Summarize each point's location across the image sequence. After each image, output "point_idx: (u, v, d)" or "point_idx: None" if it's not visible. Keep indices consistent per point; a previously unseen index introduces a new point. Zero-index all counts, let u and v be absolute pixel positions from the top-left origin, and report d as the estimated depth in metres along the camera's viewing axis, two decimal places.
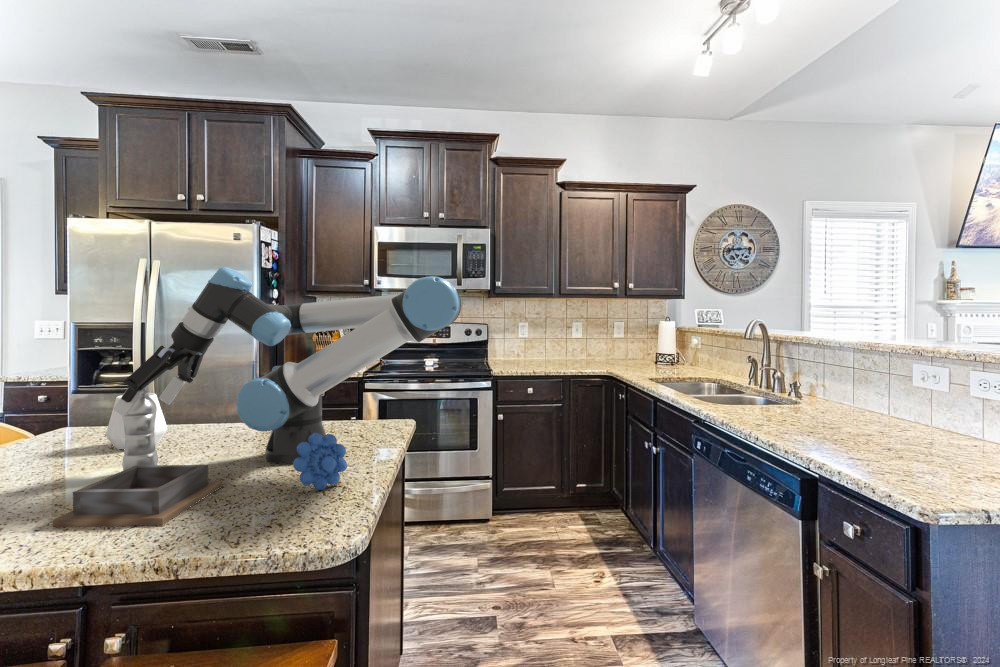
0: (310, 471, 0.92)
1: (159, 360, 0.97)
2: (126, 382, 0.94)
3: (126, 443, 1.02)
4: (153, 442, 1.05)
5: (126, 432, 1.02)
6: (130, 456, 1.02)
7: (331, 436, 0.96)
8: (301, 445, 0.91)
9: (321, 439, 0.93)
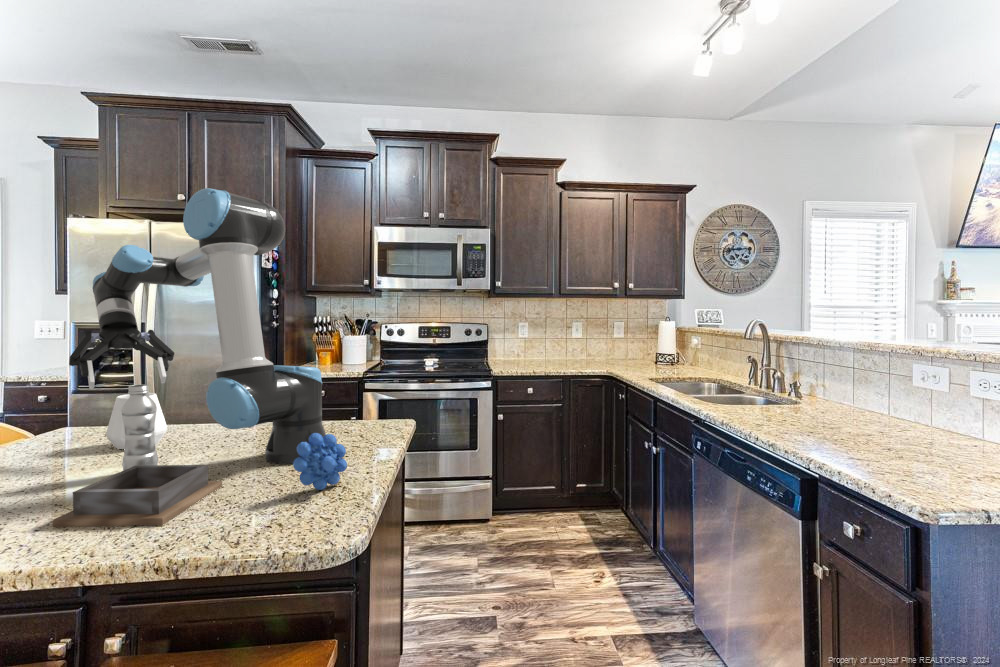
0: (310, 471, 0.92)
1: (83, 339, 1.12)
2: (69, 362, 1.08)
3: (126, 443, 1.02)
4: (153, 442, 1.05)
5: (126, 432, 1.02)
6: (130, 456, 1.02)
7: (331, 436, 0.96)
8: (301, 445, 0.91)
9: (321, 439, 0.93)
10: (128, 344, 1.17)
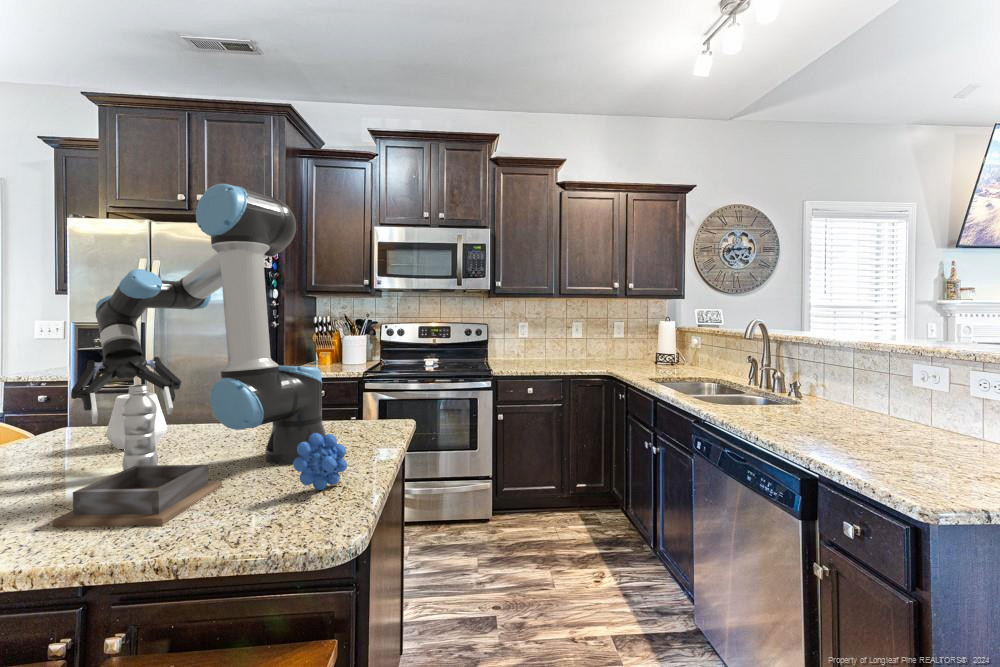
0: (310, 471, 0.92)
1: None
2: (71, 395, 1.02)
3: (126, 443, 1.02)
4: (153, 442, 1.05)
5: (126, 432, 1.02)
6: (130, 456, 1.02)
7: (331, 436, 0.96)
8: (301, 445, 0.91)
9: (321, 439, 0.93)
10: (133, 373, 1.12)
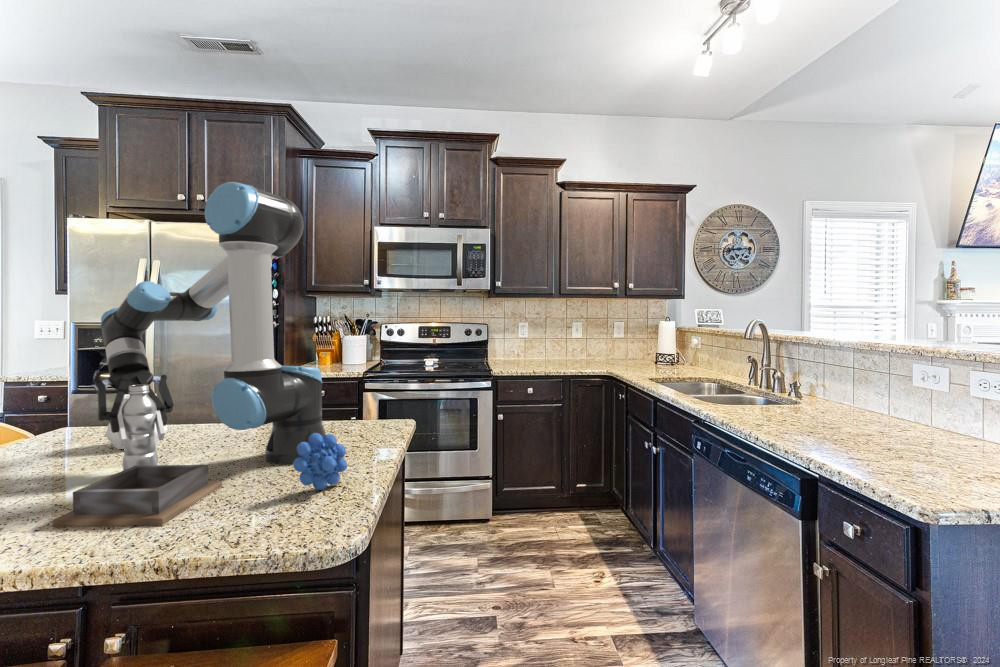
0: (310, 471, 0.92)
1: (98, 390, 1.04)
2: (98, 417, 1.01)
3: (126, 443, 1.02)
4: (153, 442, 1.05)
5: (126, 432, 1.02)
6: (130, 456, 1.02)
7: (331, 436, 0.96)
8: (301, 445, 0.91)
9: (321, 439, 0.93)
10: None
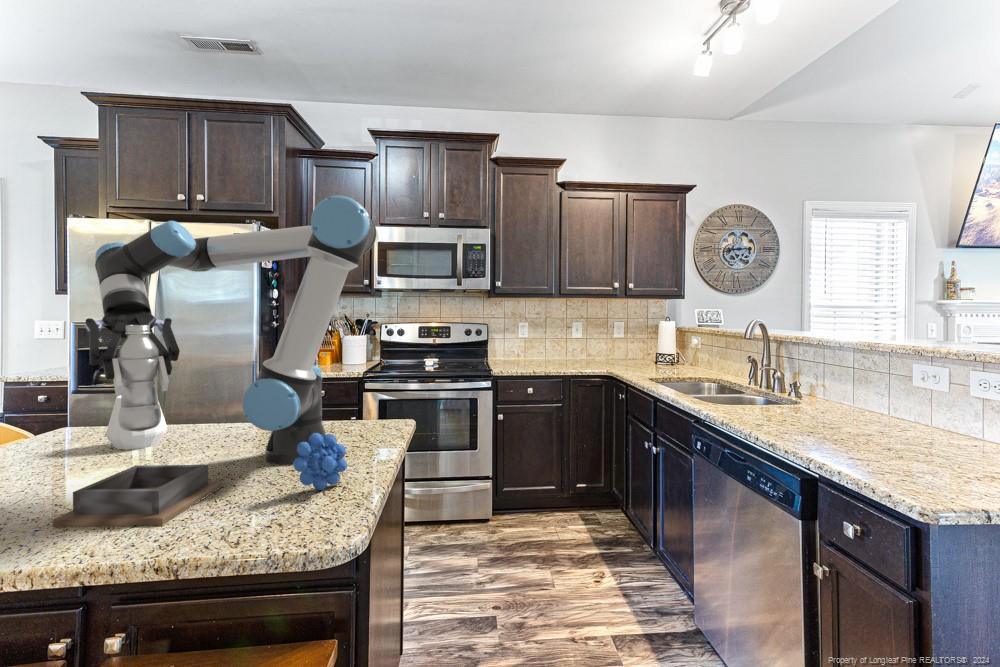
0: (310, 471, 0.92)
1: (89, 330, 0.87)
2: None
3: (123, 393, 0.85)
4: (155, 393, 0.88)
5: (123, 380, 0.85)
6: (127, 408, 0.85)
7: (331, 436, 0.96)
8: (301, 445, 0.91)
9: (321, 439, 0.93)
10: None
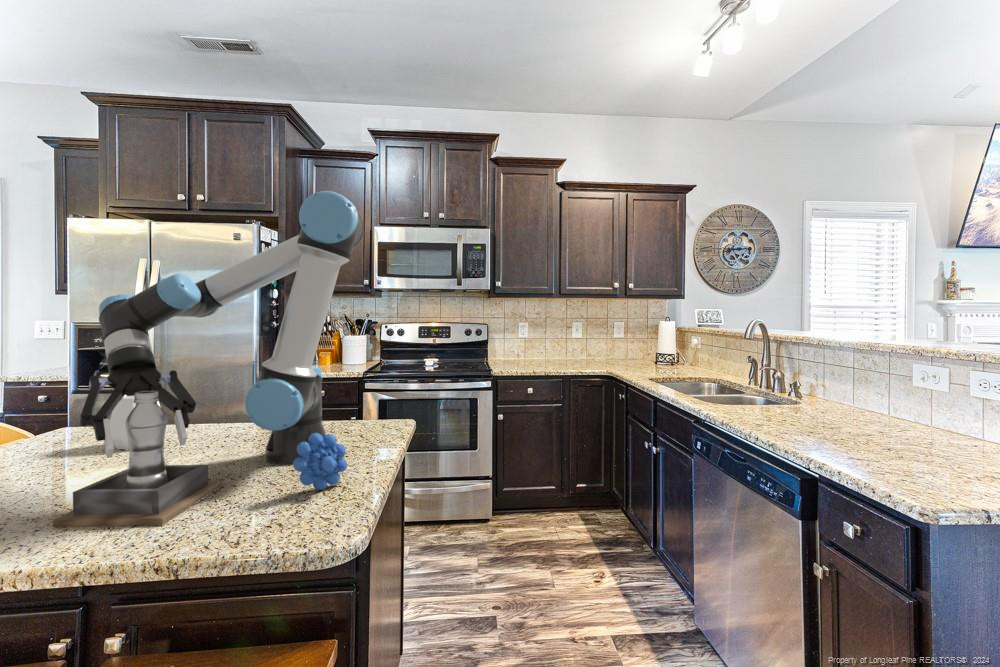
0: (310, 471, 0.92)
1: None
2: (80, 422, 0.82)
3: (130, 461, 0.85)
4: (162, 460, 0.88)
5: (131, 448, 0.85)
6: (135, 477, 0.85)
7: (331, 436, 0.96)
8: (301, 445, 0.91)
9: (321, 439, 0.93)
10: (145, 389, 0.91)
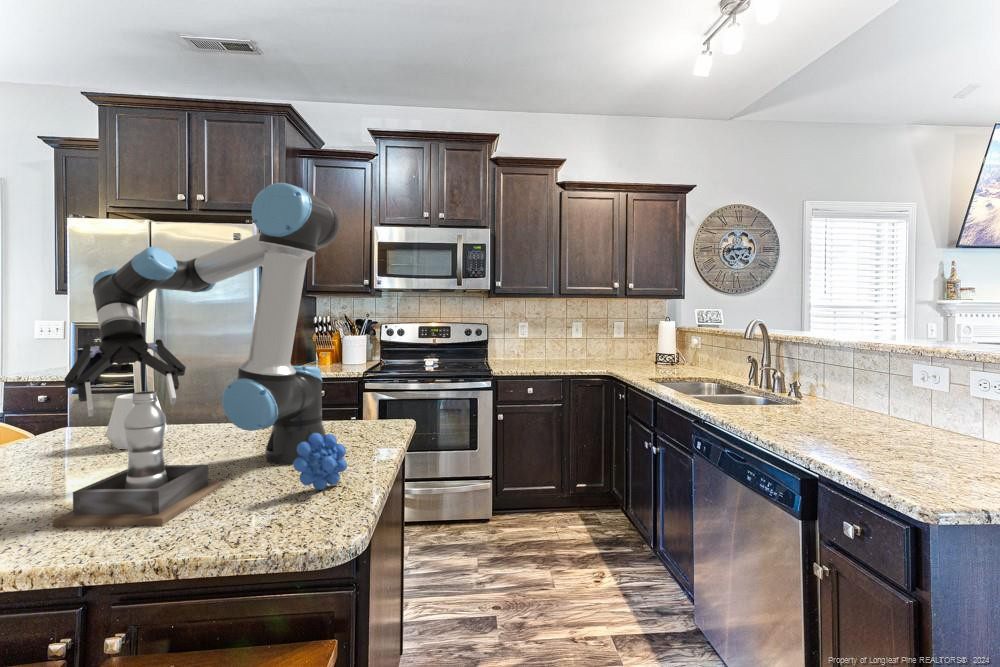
0: (310, 471, 0.92)
1: None
2: (65, 384, 0.93)
3: (130, 462, 0.85)
4: (162, 460, 0.88)
5: (130, 449, 0.85)
6: (134, 477, 0.84)
7: (331, 436, 0.96)
8: (301, 445, 0.91)
9: (321, 439, 0.93)
10: (133, 358, 1.02)
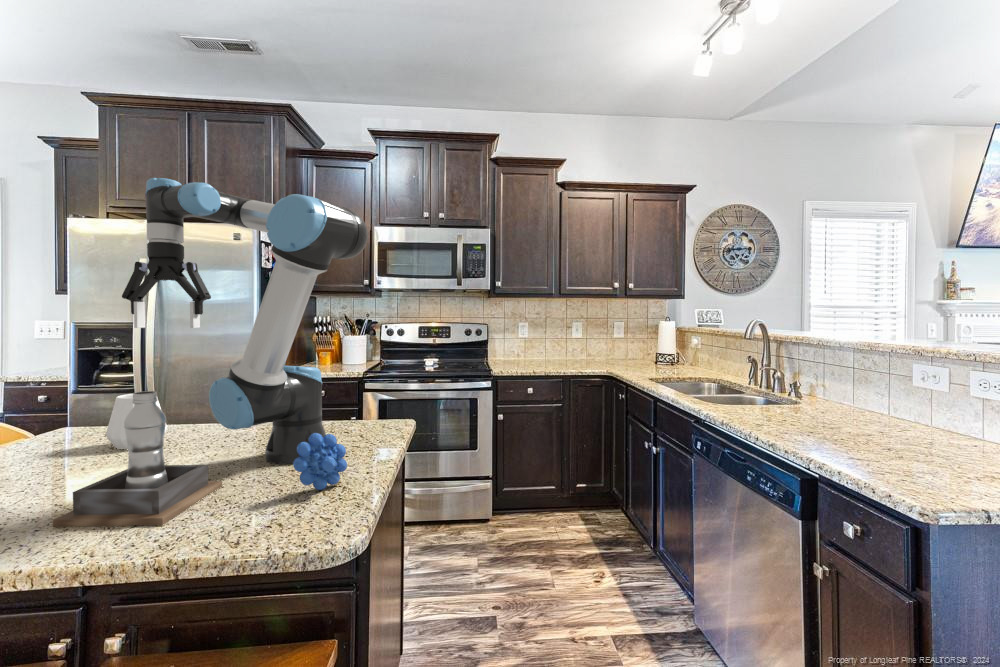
0: (310, 471, 0.92)
1: None
2: None
3: (130, 462, 0.85)
4: (162, 460, 0.88)
5: (130, 449, 0.85)
6: (134, 477, 0.84)
7: (331, 436, 0.96)
8: (301, 445, 0.91)
9: (321, 439, 0.93)
10: None
